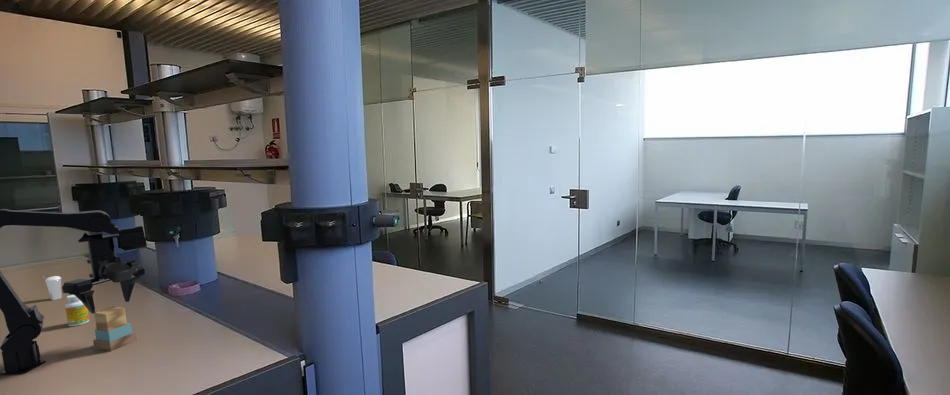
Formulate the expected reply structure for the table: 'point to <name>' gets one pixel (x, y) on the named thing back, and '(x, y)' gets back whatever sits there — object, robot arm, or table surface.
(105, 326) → the oak cube
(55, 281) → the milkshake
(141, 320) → the table surface
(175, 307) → the table surface
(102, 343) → the tower base block
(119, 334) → the tower top block
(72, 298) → the supplement bottle
